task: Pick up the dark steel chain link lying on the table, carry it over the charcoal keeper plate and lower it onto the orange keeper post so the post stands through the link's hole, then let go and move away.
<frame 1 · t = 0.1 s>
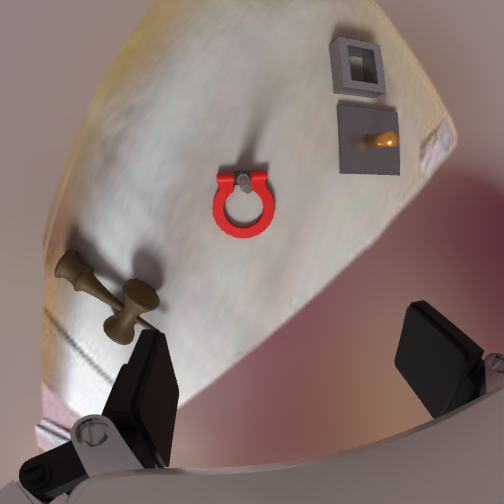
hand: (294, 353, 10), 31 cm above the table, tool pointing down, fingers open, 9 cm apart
tow hook: (243, 204, 40), on the table
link: (351, 71, 34), on the table
keeper: (368, 141, 38), on the table
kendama: (116, 291, 42), on the table
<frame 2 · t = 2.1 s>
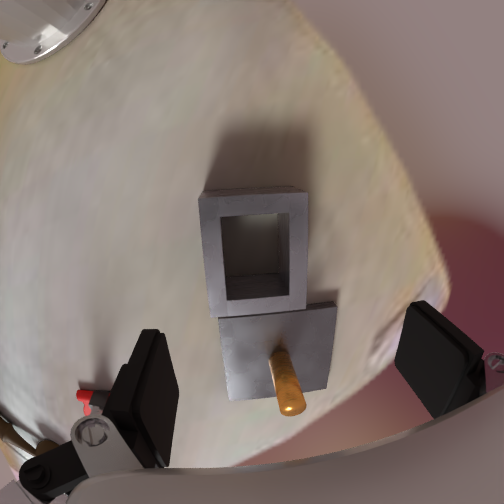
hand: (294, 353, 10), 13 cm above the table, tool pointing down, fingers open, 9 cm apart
tow hook: (116, 413, 27), on the table
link: (250, 240, 22), on the table
keeper: (277, 353, 26), on the table
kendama: (37, 439, 30), on the table
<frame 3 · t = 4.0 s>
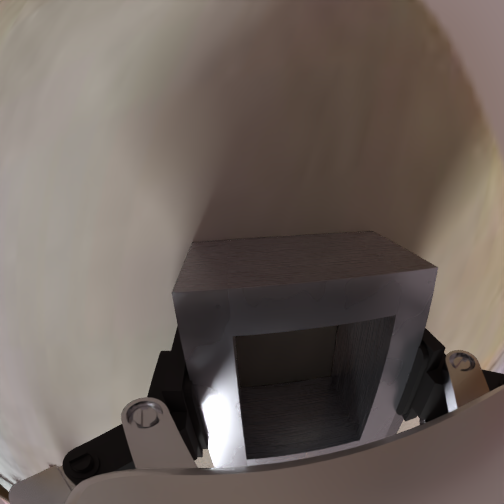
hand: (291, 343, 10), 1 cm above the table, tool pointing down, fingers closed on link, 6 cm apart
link: (288, 333, 11), on the table, touching gripper
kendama: (20, 489, 19), on the table
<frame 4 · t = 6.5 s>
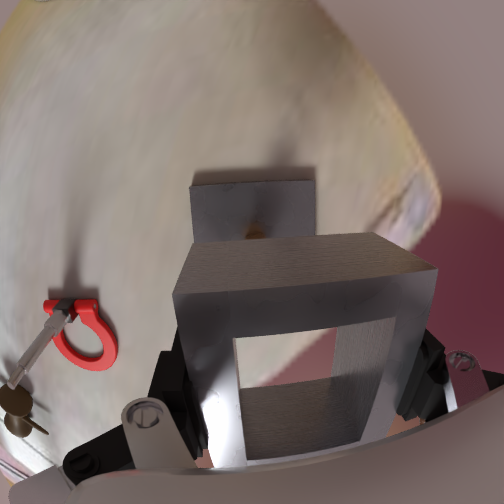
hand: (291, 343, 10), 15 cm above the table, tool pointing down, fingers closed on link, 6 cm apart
tow hook: (84, 333, 26), on the table
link: (288, 334, 11), point 14 cm above the table, touching gripper
keeper: (254, 240, 25), on the table
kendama: (7, 388, 29), on the table
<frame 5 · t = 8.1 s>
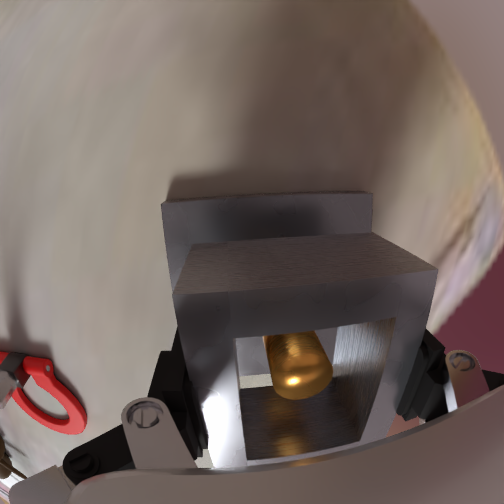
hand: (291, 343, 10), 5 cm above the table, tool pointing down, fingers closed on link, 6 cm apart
tow hook: (44, 392, 17), on the table
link: (288, 334, 11), point 4 cm above the table, touching gripper
keeper: (272, 289, 15), on the table
when the fingers open (4 cm above the table, at t = 9.2 s): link drops 2 cm, resting on keeper.
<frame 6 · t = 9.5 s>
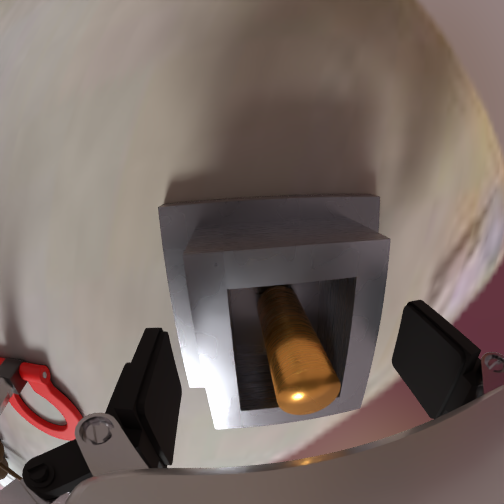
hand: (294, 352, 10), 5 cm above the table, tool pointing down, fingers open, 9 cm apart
tow hook: (41, 398, 16), on the table
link: (276, 303, 13), point 1 cm above the table, touching keeper
keeper: (274, 296, 14), on the table
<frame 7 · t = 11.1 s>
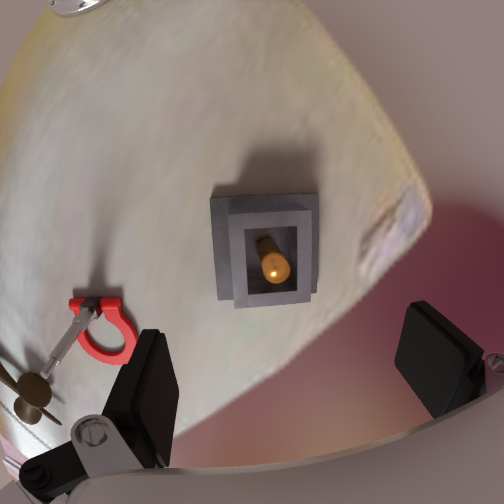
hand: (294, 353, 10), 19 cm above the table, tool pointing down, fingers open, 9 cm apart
tow hook: (106, 329, 30), on the table
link: (266, 248, 27), point 1 cm above the table, touching keeper
keeper: (265, 246, 28), on the table
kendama: (22, 375, 32), on the table
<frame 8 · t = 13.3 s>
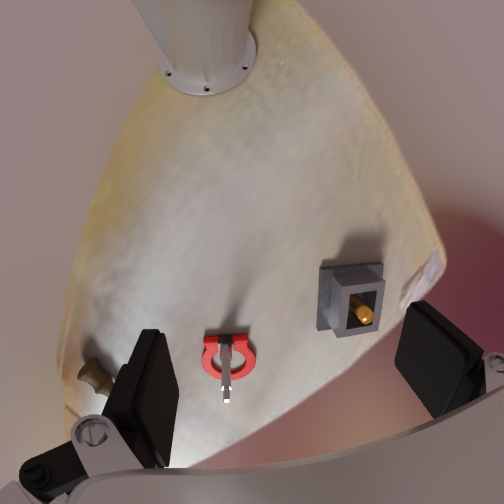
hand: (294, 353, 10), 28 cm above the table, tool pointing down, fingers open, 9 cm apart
tow hook: (228, 355, 44), on the table
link: (350, 297, 41), point 1 cm above the table, touching keeper
keeper: (348, 295, 42), on the table
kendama: (129, 392, 45), on the table
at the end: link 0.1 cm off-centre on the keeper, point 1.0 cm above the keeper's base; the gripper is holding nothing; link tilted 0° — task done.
